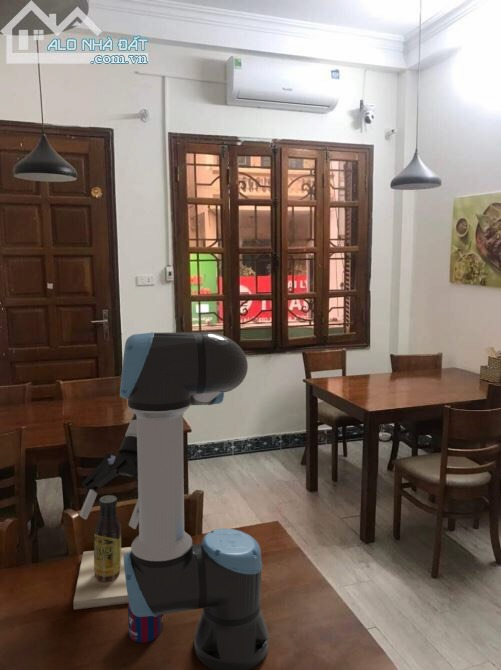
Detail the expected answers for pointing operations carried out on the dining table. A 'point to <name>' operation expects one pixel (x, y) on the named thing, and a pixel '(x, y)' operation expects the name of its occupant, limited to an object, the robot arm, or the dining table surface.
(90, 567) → the birch board
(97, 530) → the sauce bottle
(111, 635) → the dining table surface
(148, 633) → the mug
